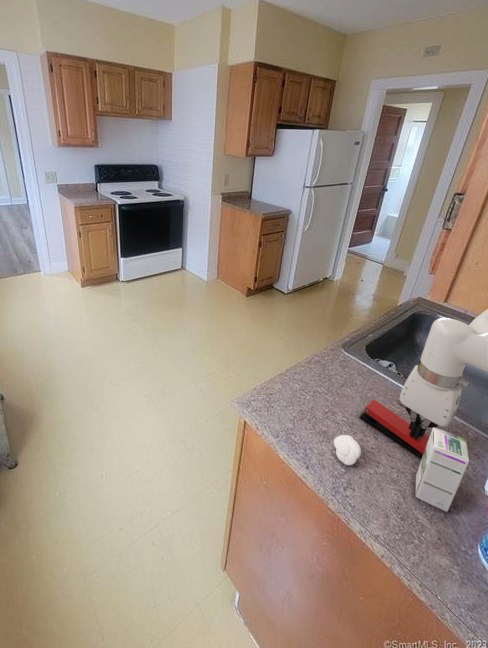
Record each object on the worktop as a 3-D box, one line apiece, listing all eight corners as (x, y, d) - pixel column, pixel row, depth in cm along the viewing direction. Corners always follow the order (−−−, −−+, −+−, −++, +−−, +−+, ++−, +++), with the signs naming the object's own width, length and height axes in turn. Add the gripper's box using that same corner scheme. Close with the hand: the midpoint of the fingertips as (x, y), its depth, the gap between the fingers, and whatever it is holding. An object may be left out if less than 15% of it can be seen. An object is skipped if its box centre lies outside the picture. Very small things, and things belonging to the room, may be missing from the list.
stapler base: (434, 451, 77) (437, 445, 76) (426, 463, 74) (429, 456, 73) (368, 409, 88) (370, 403, 88) (359, 418, 86) (361, 412, 85)
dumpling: (364, 466, 73) (366, 457, 71) (342, 471, 73) (344, 462, 71) (348, 436, 79) (350, 427, 77) (328, 441, 79) (329, 432, 76)
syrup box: (448, 513, 64) (472, 461, 58) (413, 497, 67) (433, 446, 61) (446, 489, 68) (468, 439, 63) (413, 474, 71) (432, 425, 66)
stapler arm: (433, 446, 76) (435, 441, 76) (425, 456, 74) (428, 451, 73) (371, 403, 87) (373, 398, 86) (363, 411, 84) (365, 406, 84)
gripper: (485, 385, 67) (457, 448, 74) (408, 350, 78) (390, 408, 85) (474, 401, 63) (445, 467, 69) (394, 361, 74) (376, 421, 80)
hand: (415, 434), depth 77 cm, fingers closed
